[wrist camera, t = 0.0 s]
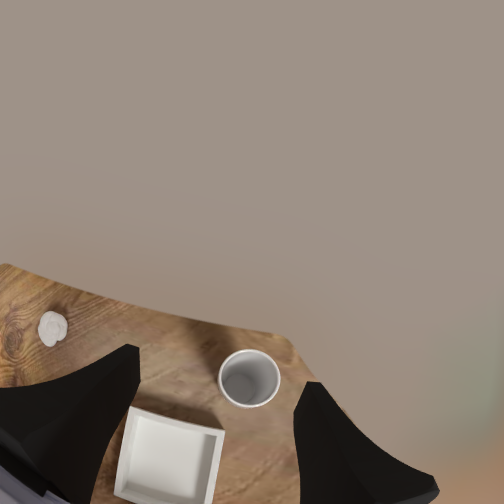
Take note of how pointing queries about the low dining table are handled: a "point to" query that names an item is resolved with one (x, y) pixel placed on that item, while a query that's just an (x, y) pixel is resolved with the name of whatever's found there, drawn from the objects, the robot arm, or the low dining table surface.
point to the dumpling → (52, 328)
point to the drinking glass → (248, 378)
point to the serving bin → (167, 460)
